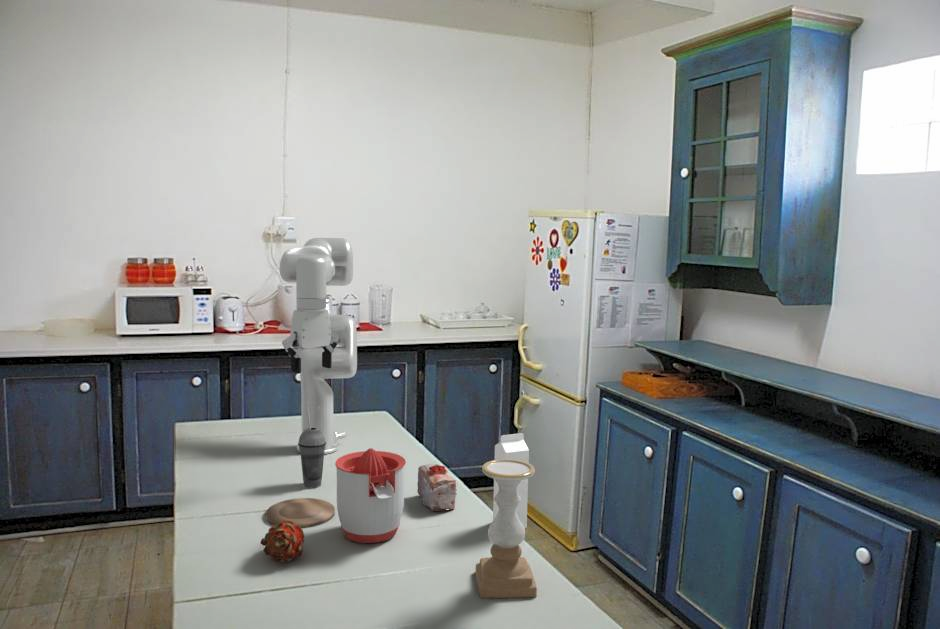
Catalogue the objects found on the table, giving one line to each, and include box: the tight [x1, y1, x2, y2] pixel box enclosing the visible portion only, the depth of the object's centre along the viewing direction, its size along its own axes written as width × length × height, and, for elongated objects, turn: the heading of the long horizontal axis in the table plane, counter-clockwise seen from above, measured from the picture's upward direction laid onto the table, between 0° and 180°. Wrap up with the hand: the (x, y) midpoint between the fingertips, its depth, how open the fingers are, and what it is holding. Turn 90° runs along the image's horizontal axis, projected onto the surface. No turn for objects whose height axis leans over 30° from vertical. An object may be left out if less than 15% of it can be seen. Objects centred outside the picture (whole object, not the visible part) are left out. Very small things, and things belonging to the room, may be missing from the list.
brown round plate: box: [265, 497, 336, 529], centre depth 179 cm, size 16×16×1 cm
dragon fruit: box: [260, 520, 305, 563], centre depth 156 cm, size 8×8×12 cm
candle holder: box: [474, 459, 538, 599], centre depth 146 cm, size 11×11×24 cm
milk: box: [492, 432, 530, 529], centre depth 174 cm, size 6×6×22 cm
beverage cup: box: [297, 411, 326, 489], centre depth 197 cm, size 7×7×20 cm
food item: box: [417, 463, 457, 512], centre depth 187 cm, size 14×8×10 cm, turn 22°
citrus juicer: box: [334, 447, 407, 544], centre depth 167 cm, size 16×17×20 cm
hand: (311, 369), depth 194 cm, fingers open, 9 cm apart
